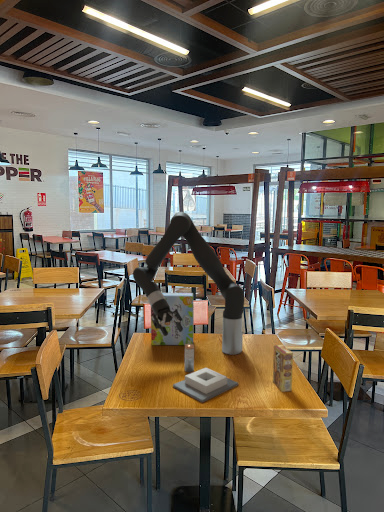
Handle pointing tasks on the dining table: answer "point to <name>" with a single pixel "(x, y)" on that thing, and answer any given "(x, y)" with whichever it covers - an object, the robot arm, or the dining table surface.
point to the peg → (189, 357)
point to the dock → (201, 395)
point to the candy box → (282, 368)
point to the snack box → (186, 311)
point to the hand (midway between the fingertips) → (174, 333)
